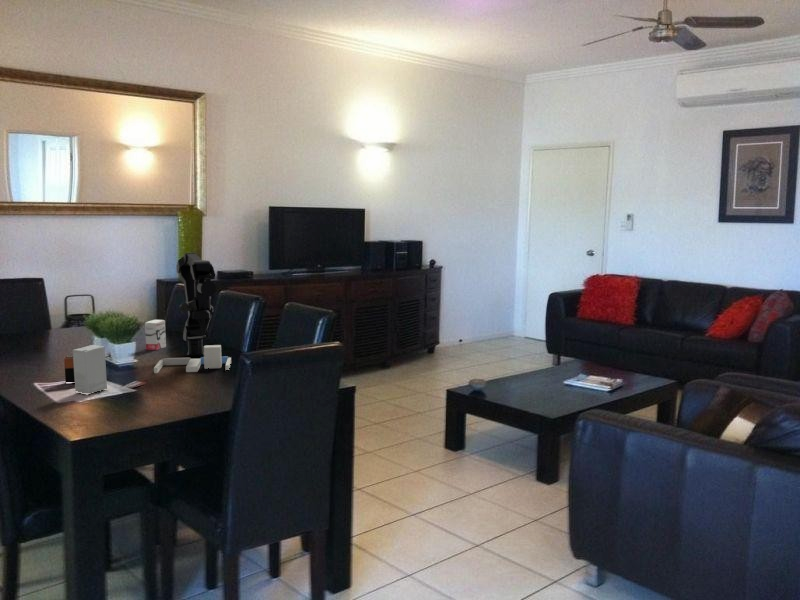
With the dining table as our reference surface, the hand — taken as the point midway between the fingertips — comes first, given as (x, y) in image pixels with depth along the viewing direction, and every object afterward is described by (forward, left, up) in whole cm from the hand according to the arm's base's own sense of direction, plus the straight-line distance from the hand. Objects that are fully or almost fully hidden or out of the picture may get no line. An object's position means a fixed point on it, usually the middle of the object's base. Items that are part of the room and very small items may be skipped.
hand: (203, 333), depth 280 cm
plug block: (+10, +4, -11) cm, 15 cm away
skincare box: (+41, -32, -11) cm, 53 cm away
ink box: (-31, -23, -11) cm, 40 cm away
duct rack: (+10, -3, -11) cm, 15 cm away
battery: (+27, -40, -11) cm, 50 cm away
